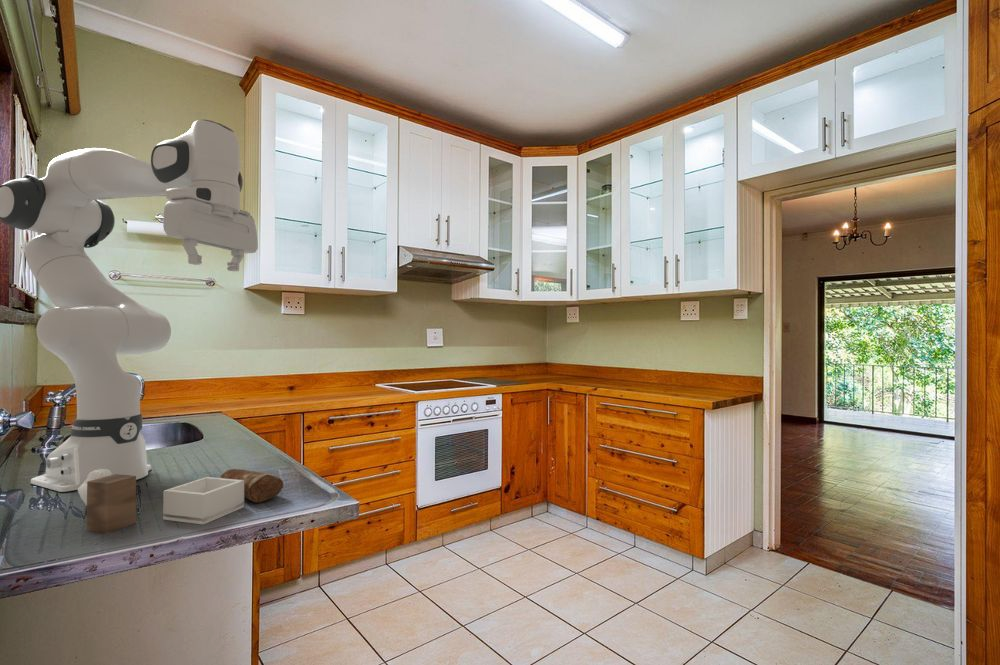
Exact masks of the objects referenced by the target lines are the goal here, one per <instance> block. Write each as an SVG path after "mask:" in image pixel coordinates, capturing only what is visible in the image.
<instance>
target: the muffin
mask: <svg viewBox="0 0 1000 665" xmlns="http://www.w3.org/2000/svg"><path fill="white" fill-rule="evenodd" d="M111 474H112V473H111V471H110V470H108V469H98V470H94V471H92V472H90V473H89V474H88V475H87V479H86V480H85V481H84V483H83V484H82V485H81V486H80V487H79V488H78V490H77V493H78V495H79V497H80V499H81V500H82V501H83V503H84V504H85V505H86V506H87V481H91V480H95V479H99V478H103V477H106V476H110V475H111Z"/></svg>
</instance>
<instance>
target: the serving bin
mask: <svg viewBox="0 0 1000 665" xmlns="http://www.w3.org/2000/svg"><path fill="white" fill-rule="evenodd" d="M162 503H163V505H162V511H163V514H162V520H165V521H174V522H182V523H188V524H197V525H206V524H208V523H210V522H213V521H214V520H217V519H219V518H222V517H225V516H227V515H229V514H232V513H234V512H236V511H239V510H241V509H243V508H245V497H244V480H236V479H225V478H220V477H215V476H214V477H212V476H211V477H210V476H206V477H202V478H199V479H196V480H193V481H190V482H186V483H183V484H181V485H176V486H173V487H171V488H168V489H165V490H163V502H162Z"/></svg>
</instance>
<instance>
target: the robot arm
mask: <svg viewBox="0 0 1000 665" xmlns="http://www.w3.org/2000/svg"><path fill="white" fill-rule="evenodd" d="M240 151H241V150H240V143H239V139H238V136H237V134H236V132H235V131H234V130H233V129H231V128H229V127H228V126H226V125H224V124H222V123H219V122H216V121H214V120H208V119H198V120H195V121H194V122H193V123H192V125H191V128H189V130H187V132H185V133H184V134H181V135H180V136H178V137H175V138H173V139H165V140H162V141H160V142H159V143H158V144H156V145H155V146H154V147H153V149H152V151H151V156H150V162H148V161H145V160H143V159H139V158H137V157H135V156H132V155H129V154H127V153H124V152H121V151H118V150H114V149H109V148H108V149H107V148H100V147H99V148H97V147H91V148H84V149H77V150H72V151H69V152H66V153H63V154H61V155H58V156H57V157H54V158H53V159H52V160H51V161H50V162H49V163H48V166H47V169H46V175H45V176H44V177H42V178H38V177H37V176H36V175H34V174H33V175H32V174H26V175H24V176H23V177H22V178H16V179H11V180H9V181H7V182H4V183H3V184H1V185H0V223H2V224H5V225H7V226H9V227H12V228H15V229H17V230H21V231H25V230H27V231H30V232H35V233H37V236H35V237H32V238H31V239H30V240H28V242H27V243H26V244H25V246H24V250H23V251H24V256H25V260H26V262H27V265H28V267H29V269H30V272H31V273H32V275H33V277H34V278H35V280H36V281H37V283H38V284H39V286H40V287H41V288H42V289H43V291H44V292H45V294H46V296H47V297H48V298H49V299H50V301H51V302H52V303H53V305H54V307H51V308H48V309H46V311H45V312H44V313H43V314H42V315H41V316H40V317H39V320H38V321H37V324H36V336H37V340H38V341H39V343H40V344H41V346H42V347H44V349H46V350H47V351H48V352H50V353H51V354H54V355H55V356H56V357H58V358H59V359H60V360H61V361H62V362H63V363H64V364H65V366H66V367H67V368H68V370H69V372H70V374H71V375H72V378H73V381H74V384H75V385H74V386H75V393H76V418H75V419H74V420H72V421H68V424H70V425H68V428H71V430H70V433H69V435H70V436H69V437H68V438H67V439H66V440H65V441H63V442H62V443H61V444H60V445H59V446H58V447H56V448H55V449H54V450H53V451H51V452H50V453H49V454H48V455H47V458H46V461H45V466H46V467H45V473H44V474H41V475H38V476H34V477H32V478H31V479H30V484H32V485H35V486H39V487H42V488H45V489H49V490H51V491H52V490H53V491H56V492H59V493H62V492H63V493H65V492H66V493H67V492H72V491H78V488H79V487H80V486H81V485H82V484H83V483H84V481H85V480H86V479H87V475H88V474H89V473H90V472H92V471H94V470H98V469H108V470H110V471H111V473H112V474H111V475H114V474H121V475H132V476H136V481H137V480H139V479H140V480H141V479H142V478H145V477H146V476H148V475H149V471H150V470H151V469H152V466H151V464H148V457H147V449H146V448H147V446H146V439H145V436H144V435H143V434H142V433H141V430H143V422H144V419H143V414H142V413H141V384H140V380H139V379H138V378H137V377H136V376H135V375H133V374H131V373H129V372H127V371H125V370H123V368H122V367H121V366H120V363H119V362H118V356H119V355H123V356H124V355H141V354H147V353H152V352H156V351H159V350H162V349H163V348H164V347H166V345H167V344H168V343H169V341H170V340H171V339H170V338H171V336H172V328H171V327H172V326H171V324H170V322H169V320H168V319H167V317H166V316H165V315H164V314H163V313H161V312H158V311H155V310H153V309H150V308H148V307H146V306H144V305H142V304H140V303H139V302H137V301H135V300H134V299H133V298H131V297H130V296H128V295H127V294H126V293H124V292H122V291H121V290H120V289H118V288H117V287H116V286H115V285H113V284H112V283H111V282H110V281H109V280H108V279H107V278H106V276H105V275H104V274H103V272H102V271H101V270H100V269H99V268H98V267H97V265H96V264H95V263H94V262H93V261H92V259H91V258H90V257H89V255H88V254H87V253H86V251H85V249H90V248H93V247H96V246H97V245H98V244H99V243H100V242H103V240H105V239H106V238H107V237H108V236H109V235H110V234H111V233H112V231H113V230H114V228H115V221H116V220H115V215H114V212H113V209H112V208H111V206H109V205H108V204H107V203H105V202H103V201H102V200H114V199H127V198H146V197H147V198H148V197H166V199H167V202H166V203H165V205H164V209H163V217H162V218H163V220H162V221H163V222H162V223H163V224H162V225H163V231H164V232H165V234H166V235H167V236H168V237H170V238H175V239H179V240H182V247H183V249H184V250H185V252H186V254H187V255H188V256H187V260H188V261H187V262H188V264H189V265H195V266H201V265H202V263H203V262H202V260H203V256H202V255H200V254H199V253H198V249H197V248H196V247H197V246H198V244H200V245H205V246H209V247H214V248H219V249H223V250H227V251H228V250H229V251H230V256H232V258H231V260H230V262H229V261H228V262H227V263H226V264H227V268H226V269H227V270H228V272H239V271H240V263H241V262H242V260H243V258H244V257H245V254H254V253H256V252H257V250H258V249H259V243H258V232H257V226H256V222H255V219H254V217H253V216H252V215H251V213H250V212H249V211H247V210H242V209H240V208H241V199H240V198H241V196H240V195H241V192H242V188H243V186H244V185H243V184H244V183H243V182H244V180H243V176H242V174H241V152H240Z"/></svg>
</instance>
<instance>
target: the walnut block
mask: <svg viewBox="0 0 1000 665" xmlns="http://www.w3.org/2000/svg"><path fill="white" fill-rule="evenodd" d="M136 504H137V480H136V476H132V475H121V474H114V475H110V476H106V477H103V478H99V479H95V480H91V481H87V505H86V531H90V532H97V533H104V534H109V533H111V532H114V531H117V530H119V529H122V528H124V527H127V526H131V525H133V524H136V523H137V522H136V521H137V519H136V518H137V515H136V514H137V505H136Z"/></svg>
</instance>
